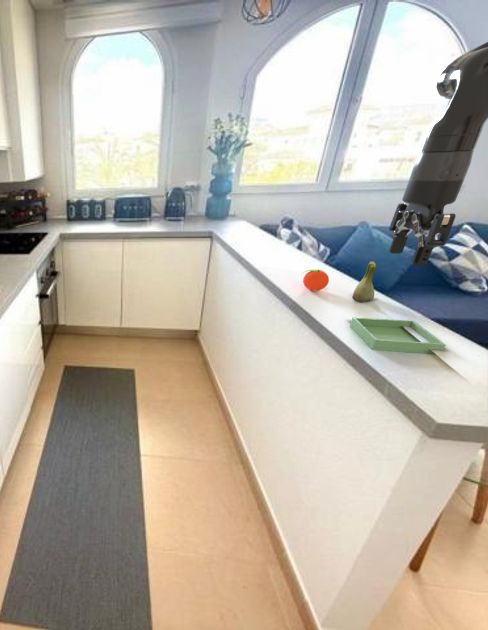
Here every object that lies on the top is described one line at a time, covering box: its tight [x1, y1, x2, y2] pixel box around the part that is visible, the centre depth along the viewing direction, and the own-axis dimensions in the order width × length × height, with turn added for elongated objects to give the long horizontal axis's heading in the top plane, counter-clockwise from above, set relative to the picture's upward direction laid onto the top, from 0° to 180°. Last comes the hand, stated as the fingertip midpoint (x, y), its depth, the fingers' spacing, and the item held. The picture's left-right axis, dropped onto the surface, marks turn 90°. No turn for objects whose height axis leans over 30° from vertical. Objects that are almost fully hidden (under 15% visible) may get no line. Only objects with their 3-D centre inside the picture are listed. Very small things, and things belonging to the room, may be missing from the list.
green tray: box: [349, 316, 447, 355], centre depth 84 cm, size 13×12×3 cm
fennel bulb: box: [351, 261, 378, 303], centre depth 102 cm, size 6×5×12 cm
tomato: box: [302, 269, 330, 292], centre depth 113 cm, size 8×7×7 cm
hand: (406, 258), depth 73 cm, fingers open, 8 cm apart
